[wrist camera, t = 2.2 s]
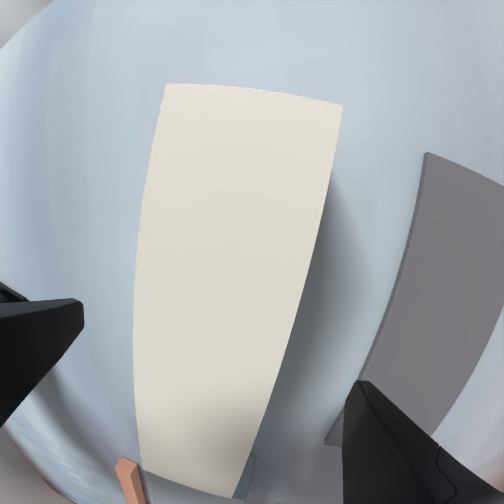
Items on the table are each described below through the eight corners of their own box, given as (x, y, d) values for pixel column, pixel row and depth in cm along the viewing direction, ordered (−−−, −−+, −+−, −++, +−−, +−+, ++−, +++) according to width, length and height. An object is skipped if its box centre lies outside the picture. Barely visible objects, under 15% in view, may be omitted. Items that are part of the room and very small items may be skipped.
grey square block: (171, 470, 17) (154, 505, 13) (168, 429, 16) (145, 470, 12) (244, 490, 16) (234, 528, 13) (256, 453, 15) (245, 500, 11)
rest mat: (325, 439, 14) (325, 444, 13) (424, 153, 10) (428, 152, 10) (420, 443, 13) (422, 447, 13) (525, 200, 9) (529, 201, 9)
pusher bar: (186, 394, 15) (142, 469, 9) (228, 129, 11) (166, 82, 6) (254, 413, 14) (231, 498, 8) (322, 147, 11) (343, 105, 5)
